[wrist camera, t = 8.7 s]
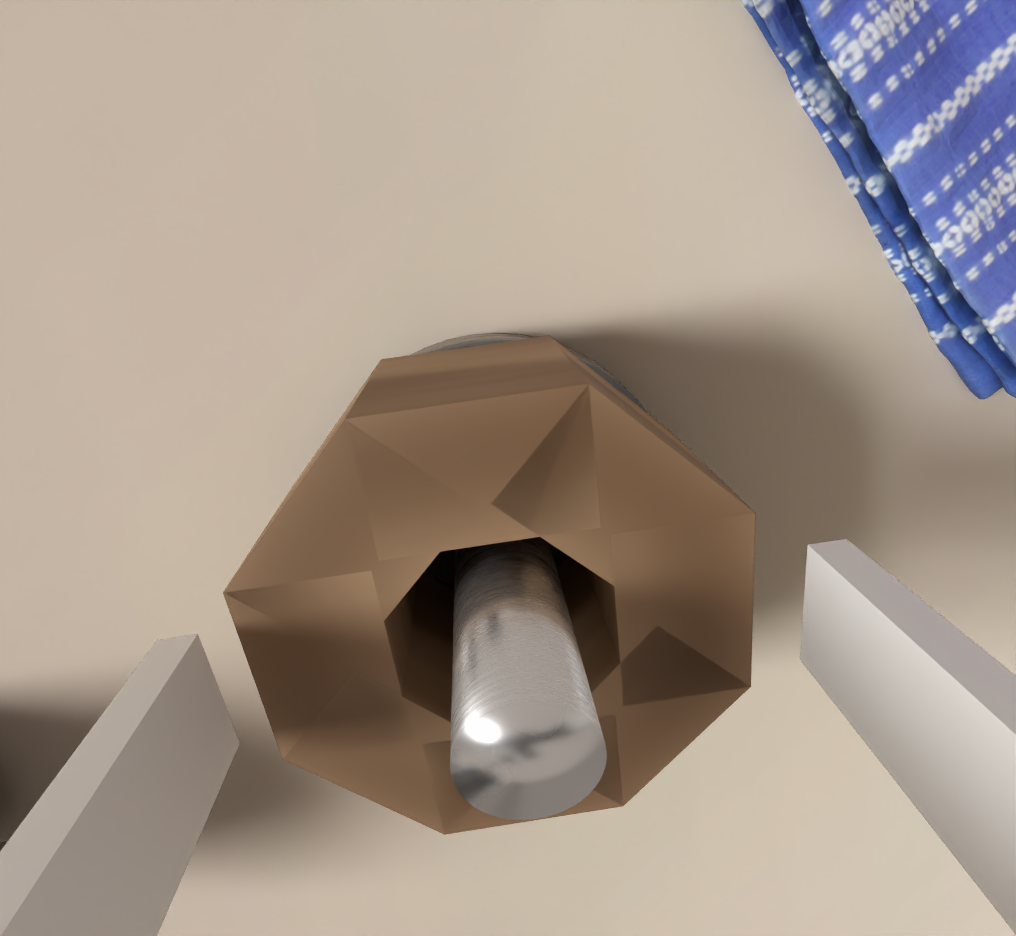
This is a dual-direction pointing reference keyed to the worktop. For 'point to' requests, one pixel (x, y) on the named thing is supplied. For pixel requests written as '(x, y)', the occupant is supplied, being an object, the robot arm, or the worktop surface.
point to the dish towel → (922, 151)
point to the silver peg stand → (517, 670)
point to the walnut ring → (481, 521)
